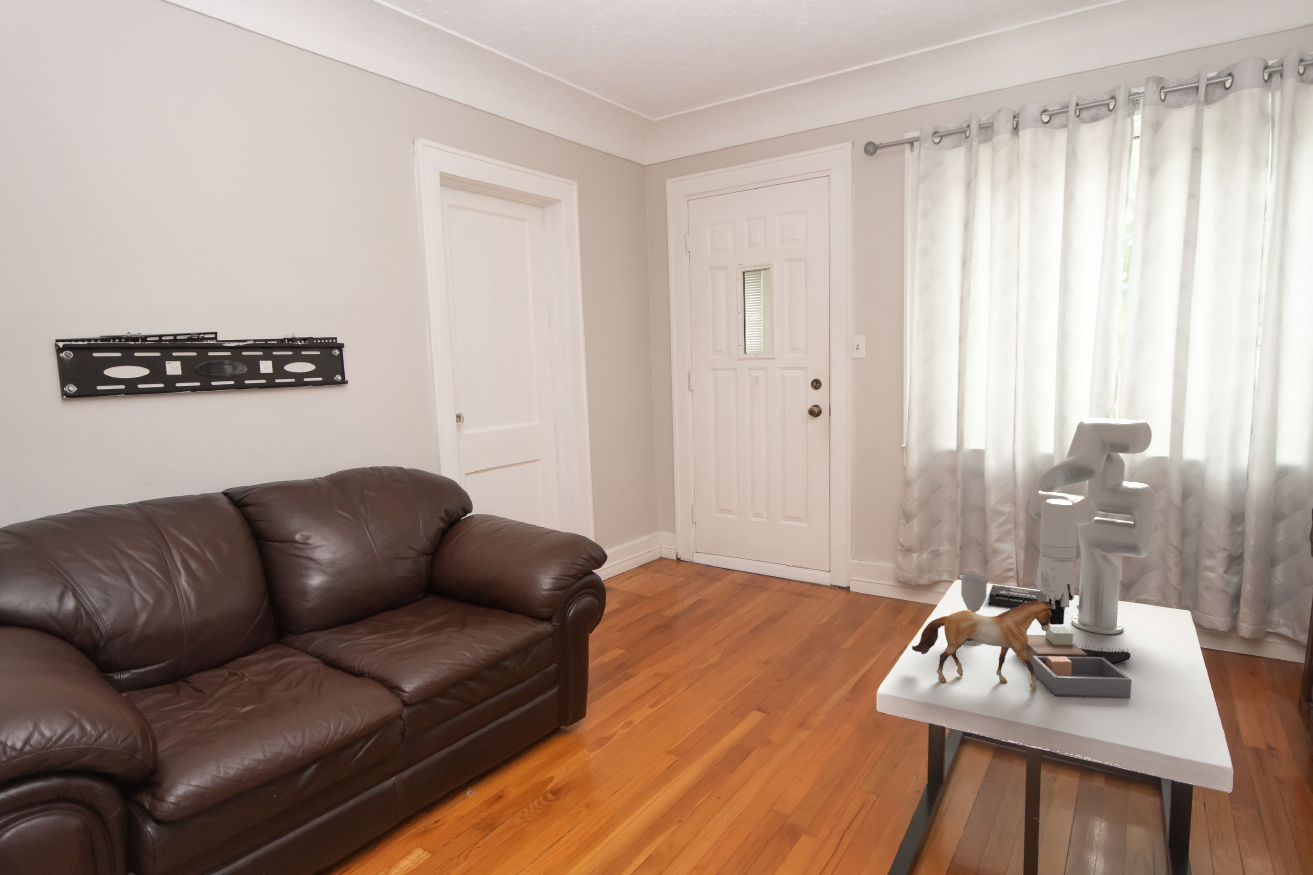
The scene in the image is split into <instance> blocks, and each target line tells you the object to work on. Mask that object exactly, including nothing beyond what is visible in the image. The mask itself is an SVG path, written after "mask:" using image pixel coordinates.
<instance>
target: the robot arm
mask: <svg viewBox="0 0 1313 875" xmlns="http://www.w3.org/2000/svg"><path fill="white" fill-rule="evenodd" d="M1151 428H1152V427H1151V426H1150V425H1149V424H1148V423H1147V422H1146V421H1144V420H1133V419H1132V420H1131V419H1112V418H1111V419H1110V418H1088V419H1084V420H1082V421H1079V422H1078V424H1077V426H1076V429H1075V432H1074V434H1073V438H1072V440H1071V443H1070V446H1069V449H1068V452H1067V454H1066V458H1065V459H1064V460H1063V461H1061V462H1059V463H1057V464H1055V465H1053V466H1052V467H1050V468H1048V470H1046V471H1045V472H1043V473H1042V474H1041V475H1040V476H1039V478H1038V479H1037V481H1036V483H1035V486H1034V489H1033V491H1032V494H1031V496H1030V501H1029V507H1028V508H1029V512H1030V515H1031V516H1032V517H1033V518H1034V519H1036V520H1038V521H1040V536H1039V537H1040V543H1039V544H1040V545H1039V559H1038V563H1037V573H1036V574H1037V575H1036V588H1037V589H1038V591H1041V592H1042V593H1044V594H1045V595H1046V596H1047V601H1051V602H1050V603H1049V604H1048V605H1052V604H1055V605H1054V606H1053V607H1051V613H1052V616H1051V617H1050V619H1049V623H1050V626H1051V625H1052V626H1053V625H1054V626H1055V625H1057V626H1058V625H1059V626H1060V625H1064V623H1065V610H1066V608H1070V602H1071V601H1073V600H1074V598H1075V593H1076V575H1075V574H1076V573H1075V562H1074V560H1076V557H1077V556H1076V555H1077V536H1078V540H1079V550H1080V571H1079V590H1078V604H1077V605H1076V609H1077V612H1078V613H1077V615H1074V616H1073V617H1071V624H1072V625H1073V626H1075V627H1076V628H1078V629H1080V630H1083V631H1086V632H1089V633H1096V634H1103V635H1116V634H1120V633H1122V632H1124V625H1123V624H1122V623H1121V622H1120V621H1118V613H1119V612H1118V609H1119V596H1120V577H1121V569H1120V566H1119V563H1118V562H1117V560H1116V559H1115V557H1114V556H1113V555H1119V556H1127V557H1132V558H1133V557H1134V558H1145V557H1147V556H1149V555H1150V553H1151V551H1152V549H1153V542H1154V532H1155V531H1154V529H1155V515H1156V495H1155V491H1154V489H1153V487H1151V486H1150V485H1149V484H1146V483H1142V482H1141V483H1140V482H1132V481H1126V480H1125V472H1126V471H1125V468H1126V464H1125V461H1124V459H1123V458H1122V456H1121V455H1120V454H1129V455H1130V454H1132V455H1136V454H1141V453H1143V452H1144V453H1145V451H1146V450H1147V449H1148V448H1149V447H1150V444H1151V443H1152V442H1151V441H1152V437H1153V436H1152V435H1153V434H1152V433H1153V432H1152V429H1151ZM1082 482H1087V492H1086V493H1087V494H1086V495H1083V494H1076V493H1075V494H1074V493H1067V492H1059V491H1055V490H1057V489H1060V488H1062V487H1065V486H1070V485H1075V484H1078V483H1082ZM1097 513H1100V514H1105V515H1106V514H1107V515H1113V516H1120V517H1121V516H1123V517H1129V518H1131V519H1132V520H1133V521H1128V520H1120V519H1114V518H1107V517H1106V518H1105V517H1096V516H1097ZM1077 528H1078V530H1077ZM1077 532H1078V535H1077Z"/></svg>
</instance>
